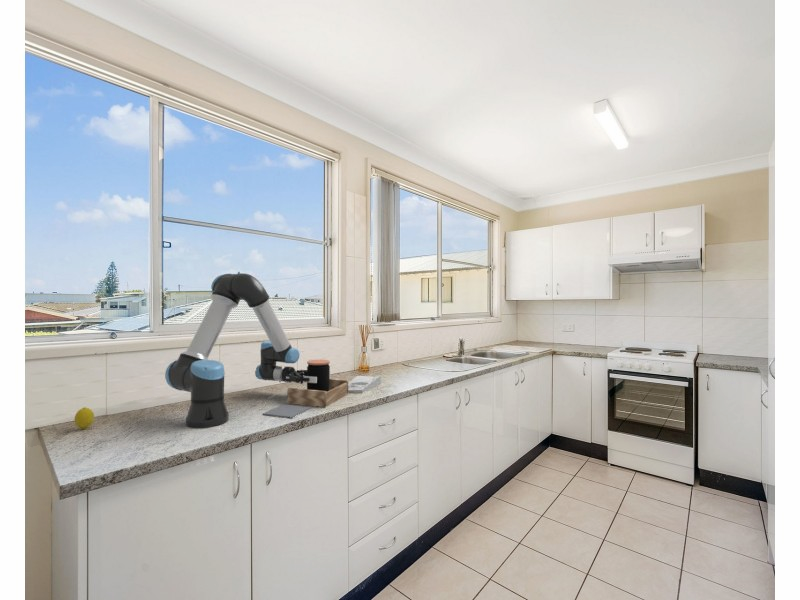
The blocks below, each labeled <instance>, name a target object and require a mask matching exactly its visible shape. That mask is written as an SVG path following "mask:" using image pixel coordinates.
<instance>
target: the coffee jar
mask: <svg viewBox="0 0 800 600" xmlns="http://www.w3.org/2000/svg"><path fill="white" fill-rule="evenodd" d="M306 362H307V363H306V364H307V367H306V370H307V376H311V377H317V383H309V382H306V389H309V390H319V391H326V392H327V391H329V390H330V379H331V371H330V367H331V366H330V362H331V361H330V360H328V359H311V360H307V361H306Z"/></svg>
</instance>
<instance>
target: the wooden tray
mask: <svg viewBox="0 0 800 600" xmlns="http://www.w3.org/2000/svg"><path fill="white" fill-rule="evenodd" d="M348 383H349V380H348V379H336V378H330V390H329V391H327V392H326V391H319V390H309V389H307V388H296V387H287V404H288V403H290V404H289V405H297V404H300V405H299V406H307V405H310V406H309V407H316V406H319V407H318V408H326V406H327V407H328V406H330V405H332V404H333V402H334V403H336V402H337V401H338V399H339V400H341V399H342V398H344V397H346V396H348V395H349V393H348ZM340 398H341V399H340ZM331 403H332V404H331ZM329 404H330V405H329Z"/></svg>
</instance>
